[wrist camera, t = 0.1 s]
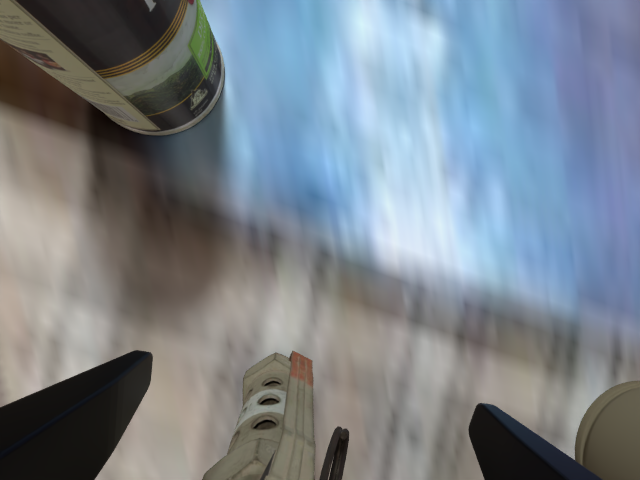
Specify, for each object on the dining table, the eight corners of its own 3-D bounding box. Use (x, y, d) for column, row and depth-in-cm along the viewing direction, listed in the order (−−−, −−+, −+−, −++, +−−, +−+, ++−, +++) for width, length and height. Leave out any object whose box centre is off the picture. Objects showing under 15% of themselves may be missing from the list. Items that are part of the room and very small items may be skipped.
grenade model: (313, 435, 23) (343, 768, 8) (233, 395, 23) (115, 669, 8) (351, 360, 24) (446, 551, 9) (273, 319, 23) (233, 446, 8)
